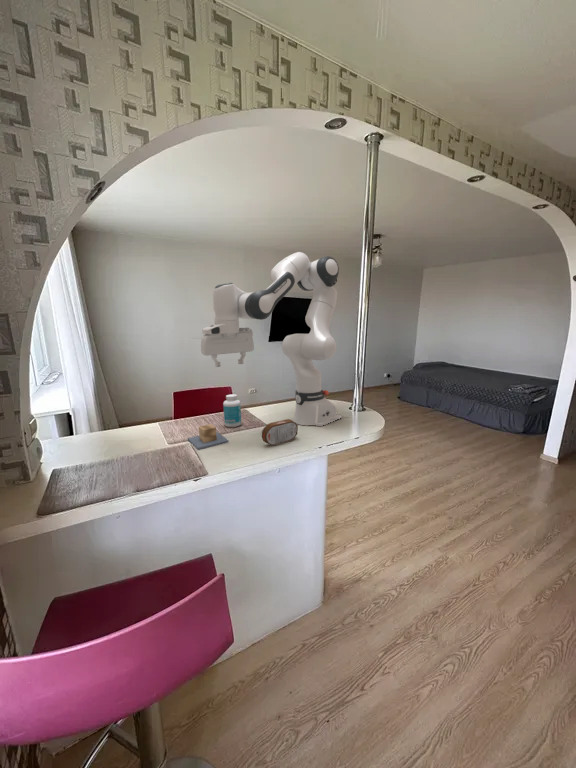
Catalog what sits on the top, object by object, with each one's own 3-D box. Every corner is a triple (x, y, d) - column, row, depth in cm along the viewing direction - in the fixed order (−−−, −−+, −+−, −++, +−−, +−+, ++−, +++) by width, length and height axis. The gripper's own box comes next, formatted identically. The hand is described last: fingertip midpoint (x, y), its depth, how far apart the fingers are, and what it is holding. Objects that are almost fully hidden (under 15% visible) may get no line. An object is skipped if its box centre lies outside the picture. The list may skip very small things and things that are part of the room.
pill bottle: (243, 426, 144) (241, 396, 141) (226, 428, 141) (224, 398, 139) (239, 421, 151) (237, 392, 148) (223, 423, 148) (221, 394, 145)
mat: (216, 433, 136) (216, 431, 136) (228, 442, 126) (228, 440, 126) (187, 440, 129) (187, 438, 129) (198, 450, 120) (197, 447, 119)
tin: (294, 437, 130) (294, 416, 129) (299, 439, 128) (299, 418, 126) (261, 446, 122) (260, 424, 120) (265, 448, 119) (265, 426, 118)
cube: (212, 436, 131) (211, 424, 130) (216, 439, 127) (215, 427, 126) (199, 438, 128) (198, 426, 127) (204, 442, 124) (203, 430, 123)
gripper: (248, 327, 131) (250, 361, 134) (197, 329, 120) (201, 367, 123) (256, 327, 126) (257, 363, 128) (203, 330, 115) (207, 369, 117)
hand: (229, 365), depth 125 cm, fingers open, 8 cm apart
